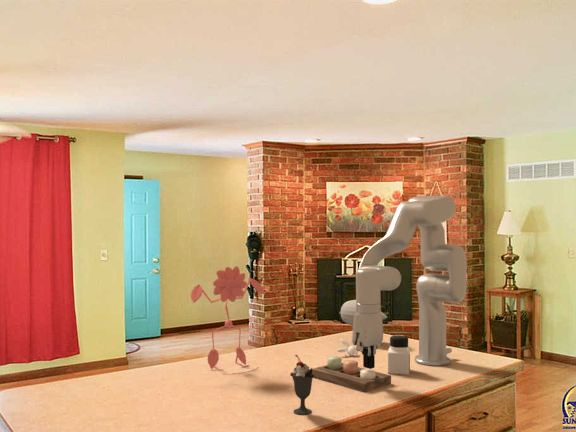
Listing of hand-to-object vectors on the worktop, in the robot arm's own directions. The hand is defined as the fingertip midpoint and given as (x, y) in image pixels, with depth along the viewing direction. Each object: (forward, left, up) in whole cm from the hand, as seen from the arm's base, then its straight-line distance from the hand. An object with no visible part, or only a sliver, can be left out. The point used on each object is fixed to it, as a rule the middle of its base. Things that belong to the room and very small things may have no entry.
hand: (368, 367), depth 178 cm
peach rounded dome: (+1, -7, -3) cm, 8 cm away
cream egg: (+1, 0, -5) cm, 5 cm away
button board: (+1, -7, -5) cm, 9 cm away
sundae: (+33, +4, -6) cm, 33 cm away
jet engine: (-44, -40, -6) cm, 60 cm away
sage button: (+1, -14, -3) cm, 14 cm away
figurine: (+21, -44, -6) cm, 49 cm away
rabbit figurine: (-23, -30, -6) cm, 38 cm away
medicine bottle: (-19, -3, -6) cm, 20 cm away
